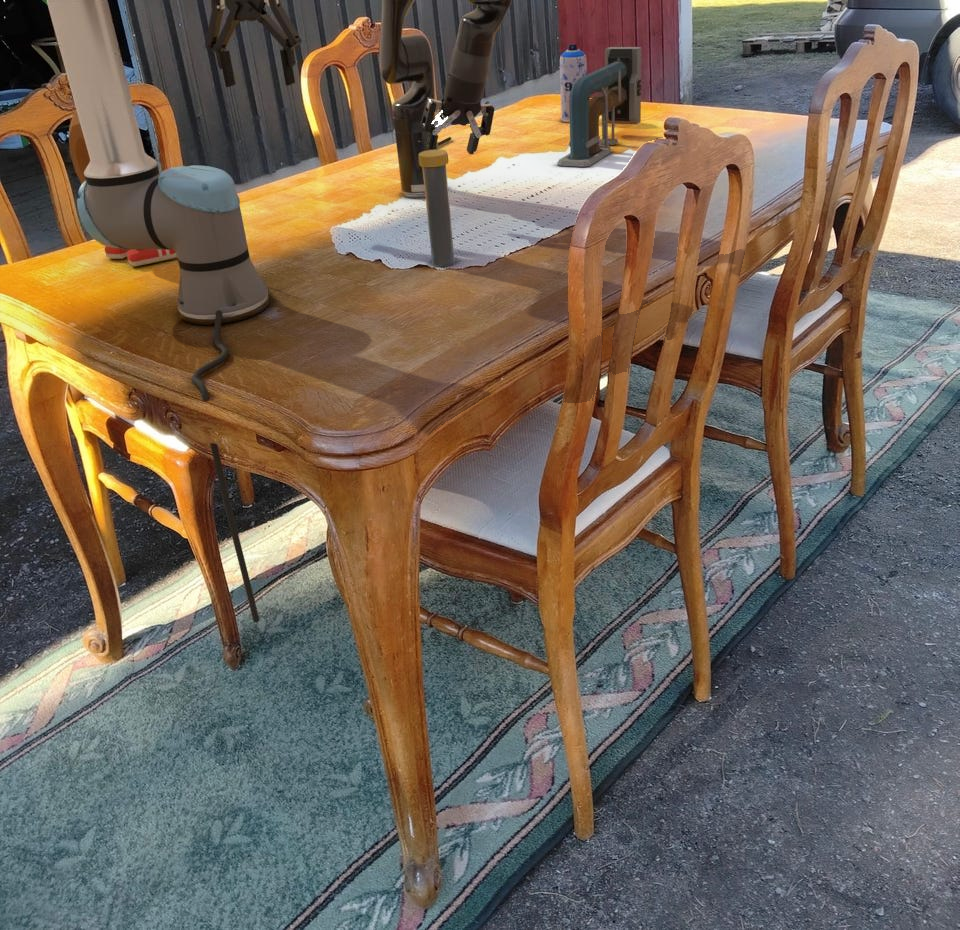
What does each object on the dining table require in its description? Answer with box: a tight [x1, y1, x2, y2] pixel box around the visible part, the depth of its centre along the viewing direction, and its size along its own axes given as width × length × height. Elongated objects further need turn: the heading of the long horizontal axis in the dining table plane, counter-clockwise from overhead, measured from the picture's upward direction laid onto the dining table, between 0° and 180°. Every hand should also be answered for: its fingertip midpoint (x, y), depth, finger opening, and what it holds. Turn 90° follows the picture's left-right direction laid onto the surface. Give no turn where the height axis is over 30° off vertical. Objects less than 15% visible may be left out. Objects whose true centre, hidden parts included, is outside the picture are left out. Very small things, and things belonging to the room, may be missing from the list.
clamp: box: [556, 46, 642, 168], centre depth 239 cm, size 35×9×21 cm, turn 151°
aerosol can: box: [559, 43, 588, 123], centre depth 273 cm, size 8×8×20 cm
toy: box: [68, 110, 177, 267], centre depth 187 cm, size 21×10×30 cm, turn 47°
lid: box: [418, 149, 449, 167], centre depth 169 cm, size 5×5×2 cm
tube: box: [422, 164, 456, 267], centre depth 174 cm, size 4×4×19 cm
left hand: (260, 85), depth 196 cm, fingers open, 13 cm apart
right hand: (450, 151), depth 196 cm, fingers open, 8 cm apart
